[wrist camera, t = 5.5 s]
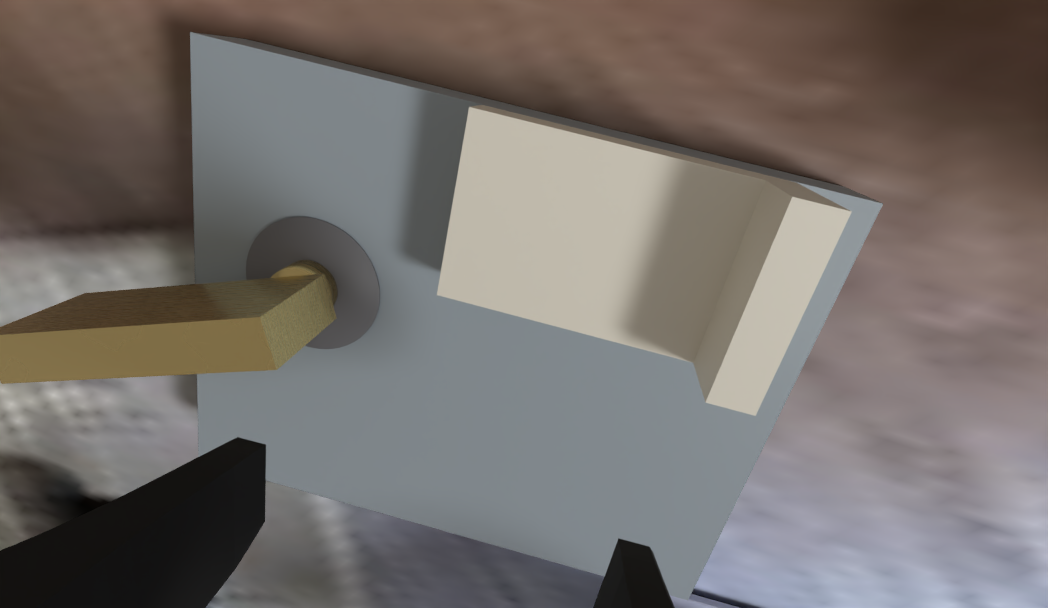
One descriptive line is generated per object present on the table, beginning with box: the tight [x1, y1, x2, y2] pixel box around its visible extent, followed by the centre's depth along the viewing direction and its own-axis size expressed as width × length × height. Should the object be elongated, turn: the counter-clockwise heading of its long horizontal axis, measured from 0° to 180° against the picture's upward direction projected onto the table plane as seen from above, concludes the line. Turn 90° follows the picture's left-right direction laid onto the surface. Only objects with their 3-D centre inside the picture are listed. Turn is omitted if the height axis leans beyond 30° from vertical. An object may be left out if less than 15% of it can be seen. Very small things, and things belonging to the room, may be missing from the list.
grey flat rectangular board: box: [190, 32, 883, 600], centre depth 19 cm, size 15×19×3 cm
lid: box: [437, 105, 852, 416], centre depth 14 cm, size 5×8×4 cm, turn 77°
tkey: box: [0, 260, 338, 384], centre depth 16 cm, size 8×2×4 cm, turn 97°
